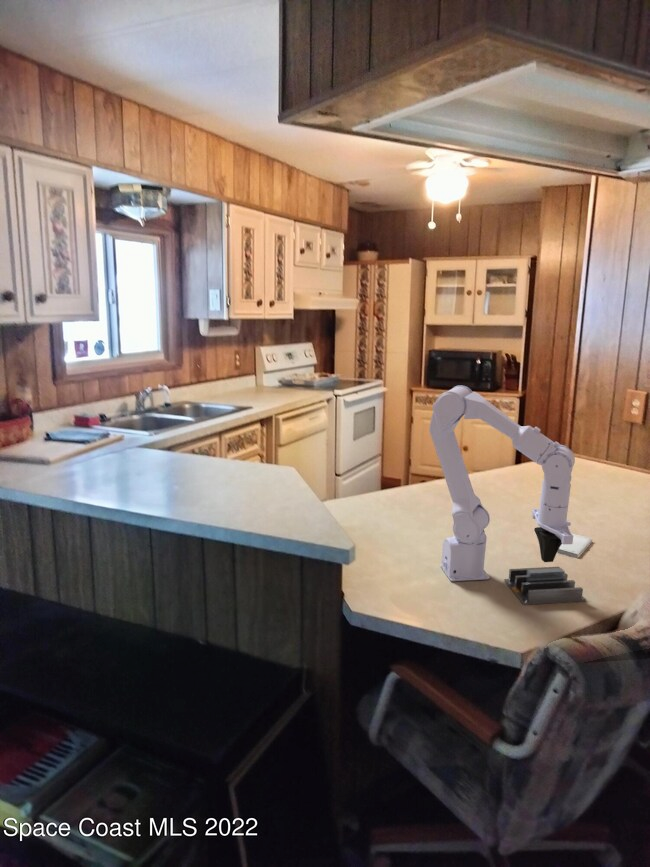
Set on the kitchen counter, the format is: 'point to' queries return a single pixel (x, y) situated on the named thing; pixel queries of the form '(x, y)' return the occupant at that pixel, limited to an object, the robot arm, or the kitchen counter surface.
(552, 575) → the panel
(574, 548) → the hard drive
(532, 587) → the slot rack
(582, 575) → the kitchen counter surface
